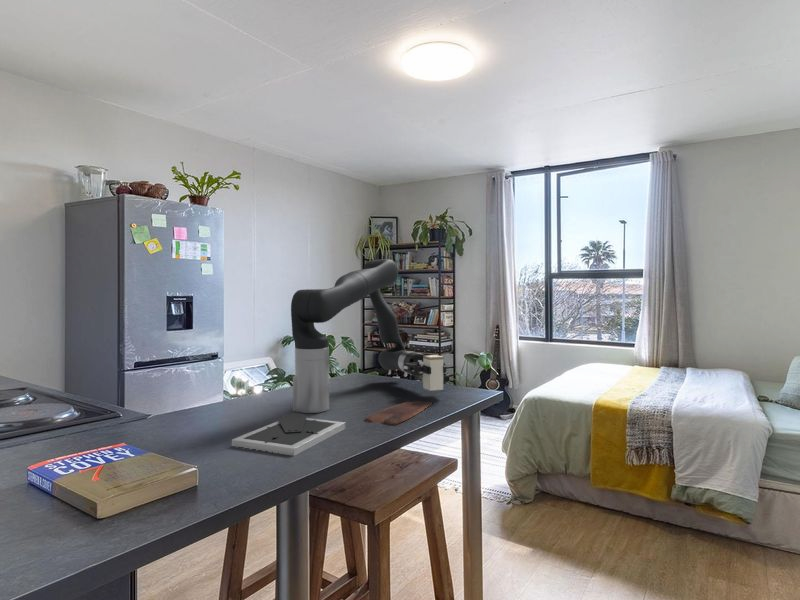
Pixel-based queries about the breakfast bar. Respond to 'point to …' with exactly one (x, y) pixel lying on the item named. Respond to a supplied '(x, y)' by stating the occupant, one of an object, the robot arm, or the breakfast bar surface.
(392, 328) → the robot arm
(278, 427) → the picture frame
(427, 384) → the cream block
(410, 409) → the wooden tablet
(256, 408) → the breakfast bar surface
